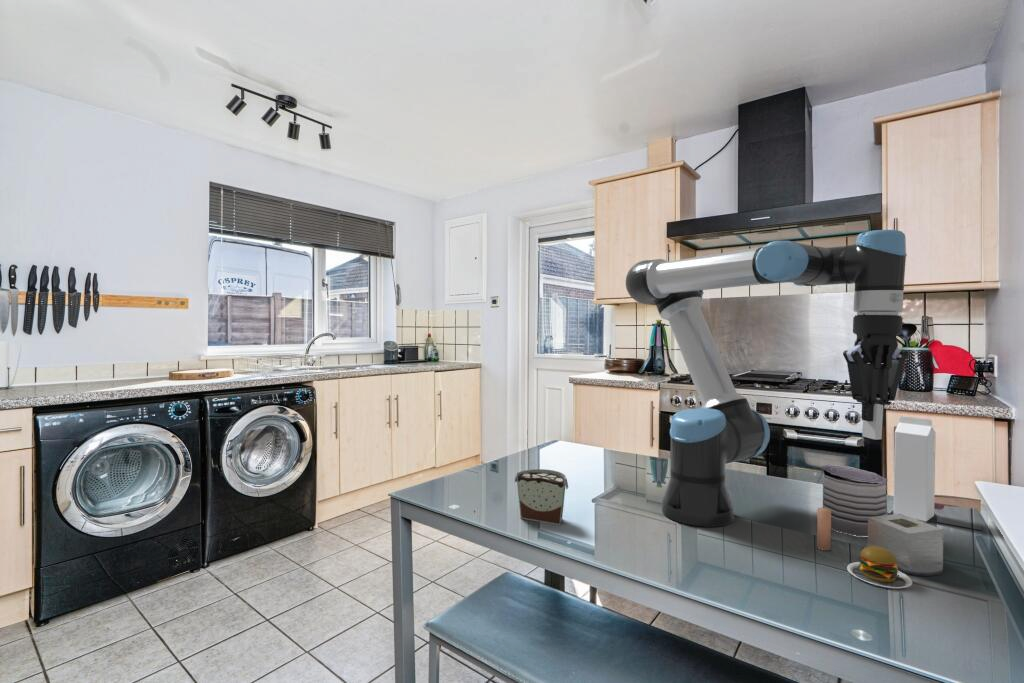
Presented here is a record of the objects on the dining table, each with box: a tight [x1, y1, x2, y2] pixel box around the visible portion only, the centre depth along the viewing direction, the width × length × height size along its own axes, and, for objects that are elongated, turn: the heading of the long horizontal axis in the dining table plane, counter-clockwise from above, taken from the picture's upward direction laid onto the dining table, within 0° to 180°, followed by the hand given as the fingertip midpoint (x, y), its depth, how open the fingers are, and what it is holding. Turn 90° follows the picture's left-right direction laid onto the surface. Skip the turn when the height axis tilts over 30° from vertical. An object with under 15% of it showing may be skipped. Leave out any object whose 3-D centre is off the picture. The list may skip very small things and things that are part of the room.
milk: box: [893, 415, 937, 523], centre depth 112 cm, size 6×6×22 cm
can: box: [820, 464, 889, 536], centre depth 106 cm, size 11×11×12 cm
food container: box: [514, 468, 569, 526], centre depth 112 cm, size 12×6×10 cm, turn 65°
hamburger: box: [846, 546, 913, 589], centre depth 84 cm, size 12×12×6 cm
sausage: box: [816, 507, 832, 551], centre depth 95 cm, size 2×2×8 cm
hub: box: [865, 526, 944, 577], centre depth 90 cm, size 11×11×6 cm
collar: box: [867, 513, 944, 568], centre depth 90 cm, size 8×8×6 cm
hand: (871, 437), depth 95 cm, fingers closed
